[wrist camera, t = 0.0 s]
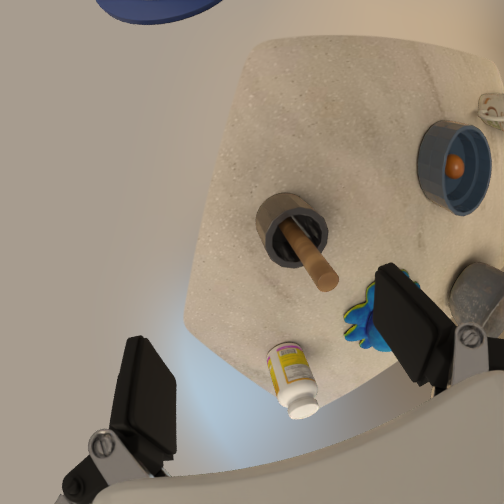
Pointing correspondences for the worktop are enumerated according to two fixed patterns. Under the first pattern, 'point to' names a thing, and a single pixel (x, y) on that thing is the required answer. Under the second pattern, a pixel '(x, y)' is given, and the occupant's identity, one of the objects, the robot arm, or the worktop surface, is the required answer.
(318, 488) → the robot arm
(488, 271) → the grey bucket
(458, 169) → the bead
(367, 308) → the plush toy
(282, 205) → the holder
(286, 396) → the supplement bottle
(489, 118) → the mug
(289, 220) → the stick
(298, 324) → the worktop surface
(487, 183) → the mixing bowl
